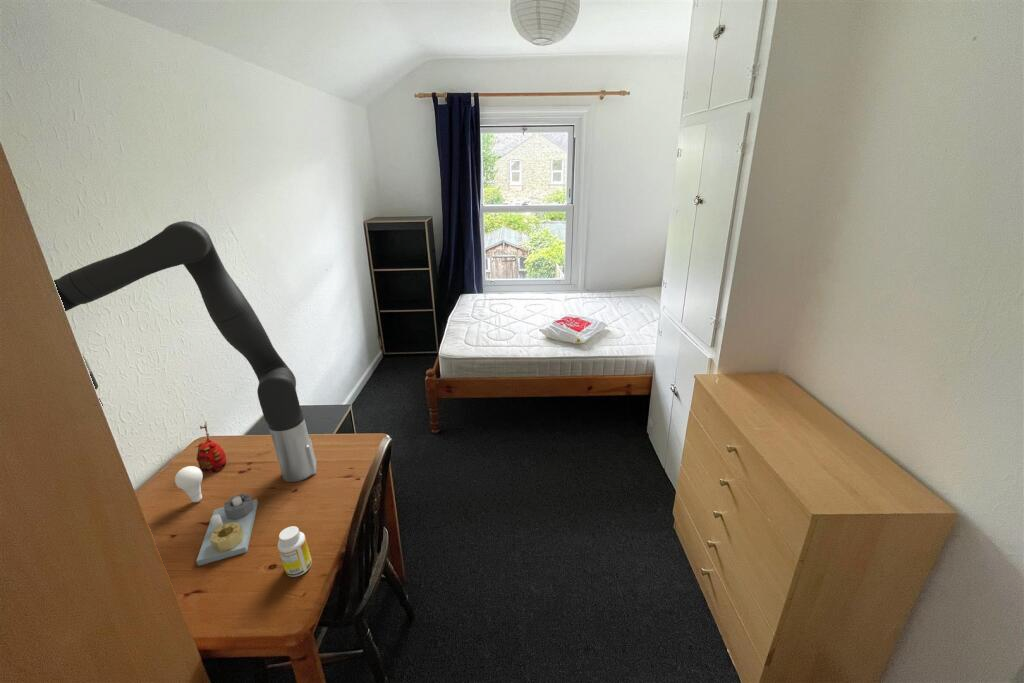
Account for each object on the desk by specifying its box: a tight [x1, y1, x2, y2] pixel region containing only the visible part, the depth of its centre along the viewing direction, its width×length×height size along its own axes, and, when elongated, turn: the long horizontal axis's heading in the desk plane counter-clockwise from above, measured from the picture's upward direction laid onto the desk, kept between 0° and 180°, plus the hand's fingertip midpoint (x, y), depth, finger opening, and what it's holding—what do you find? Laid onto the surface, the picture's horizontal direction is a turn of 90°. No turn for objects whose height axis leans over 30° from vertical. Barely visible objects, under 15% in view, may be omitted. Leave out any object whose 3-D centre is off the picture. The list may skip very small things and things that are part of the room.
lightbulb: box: [174, 465, 204, 503], centre depth 121 cm, size 6×6×11 cm
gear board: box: [195, 493, 259, 566], centre depth 110 cm, size 10×18×6 cm, turn 21°
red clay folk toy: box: [196, 421, 228, 474], centre depth 134 cm, size 8×7×15 cm
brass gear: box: [210, 522, 244, 553], centre depth 106 cm, size 6×6×3 cm
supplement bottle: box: [277, 525, 313, 578], centre depth 98 cm, size 6×6×10 cm
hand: (98, 435), depth 107 cm, fingers open, 8 cm apart
